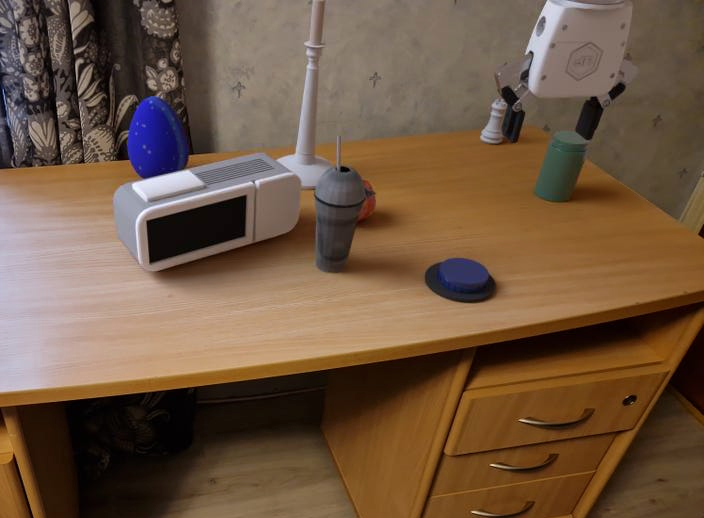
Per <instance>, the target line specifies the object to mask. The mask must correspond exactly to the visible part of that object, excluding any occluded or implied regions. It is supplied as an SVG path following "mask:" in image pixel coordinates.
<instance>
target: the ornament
mask: <svg viewBox="0 0 704 518" xmlns="http://www.w3.org/2000/svg"><path fill="white" fill-rule="evenodd" d="M126 147H127V154H128V159H129V163H130V164H131V166H132V168H133V170H134V171H135V173H136V174H137V175H138V176H139V177H140V178H141V179H142V180H143V179H147V178H151V177H155V176H160V175H164V174H168V173H173V172H177V171H181V170H185V169H186V167H187V165H188V163H189V158H190V148H189V143H188V139H187V136H186V133H185V130H184V128H183V125H182V122H181V121H180V119H179V117H178V115H177V114H176V112H175V111H174V109H173V108H172V107H171V106H170V105H169V103H168V102H167V101H166V100H164V99H163V98H161V97H159V96H156V95H154V96H153V95H151V96H149V97H147V98H144V100H142V101H141V102H140V103H139V104H138V106H137V108H136V110H135V111H134V114H133V116H132V119H131V122H130V125H129V130H128V134H127V145H126Z"/></svg>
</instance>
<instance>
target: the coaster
mask: <svg viewBox="0 0 704 518" xmlns="http://www.w3.org/2000/svg"><path fill="white" fill-rule="evenodd" d="M442 262H443V261H439V262H435V263H434V264H432V265H430V266H428V268H427V269H426V271H425V274H424V282H425V285H426V286H427V288H428V289H429V290H430V291H432V292H433V293H434V294H436V295H438V296H440V297H442V298H444V299H446V300H450V301H452V302H458V303H466V304H468V303H469V304H471V303H478V302H484V301H485V300H487V299H490V298H491V297H492V296H493V295H494V293H495V291H496V285H497V284H496V280H495V278H494V277H493V276H492V275H491V274H490V273H489V277H488V278H489V279H488V282H487V285H486V287H485V288H484V289H483V290H482V291H480V292H477V293H470V294H466V293H459V292H455V291H452V290H450V289H447V288H446V287H444V286H443V285H442V284H441V283H440V282H439V280H438V279H437V277H438V275H437V274H438V270H439V268H440V265H441V263H442Z"/></svg>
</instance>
